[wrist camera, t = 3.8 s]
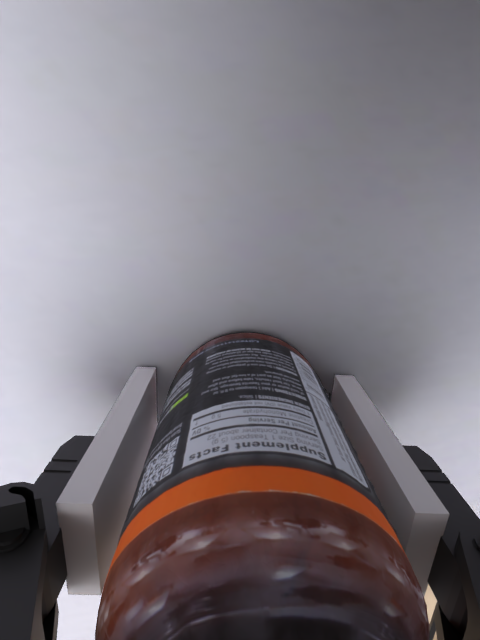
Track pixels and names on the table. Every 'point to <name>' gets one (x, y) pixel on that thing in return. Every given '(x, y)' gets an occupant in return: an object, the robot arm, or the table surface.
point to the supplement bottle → (256, 515)
